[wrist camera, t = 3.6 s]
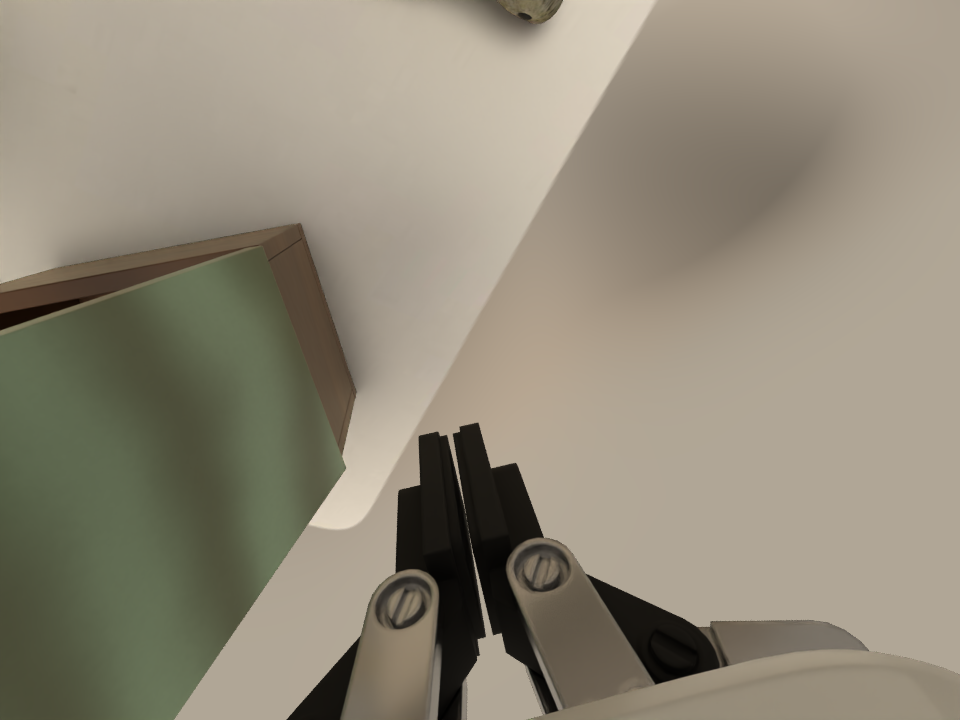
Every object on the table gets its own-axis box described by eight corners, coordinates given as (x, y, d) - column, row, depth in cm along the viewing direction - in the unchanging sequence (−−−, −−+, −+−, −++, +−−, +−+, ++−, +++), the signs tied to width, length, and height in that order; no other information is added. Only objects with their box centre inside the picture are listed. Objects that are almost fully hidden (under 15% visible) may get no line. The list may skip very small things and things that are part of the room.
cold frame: (156, 436, 29) (75, 523, 22) (55, 267, 24) (-92, 309, 17) (356, 393, 30) (341, 462, 23) (300, 222, 25) (258, 244, 18)
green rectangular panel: (25, 893, 10) (50, 902, 10) (-605, 533, 5) (-581, 536, 5) (333, 468, 22) (346, 468, 22) (246, 247, 17) (262, 245, 17)
